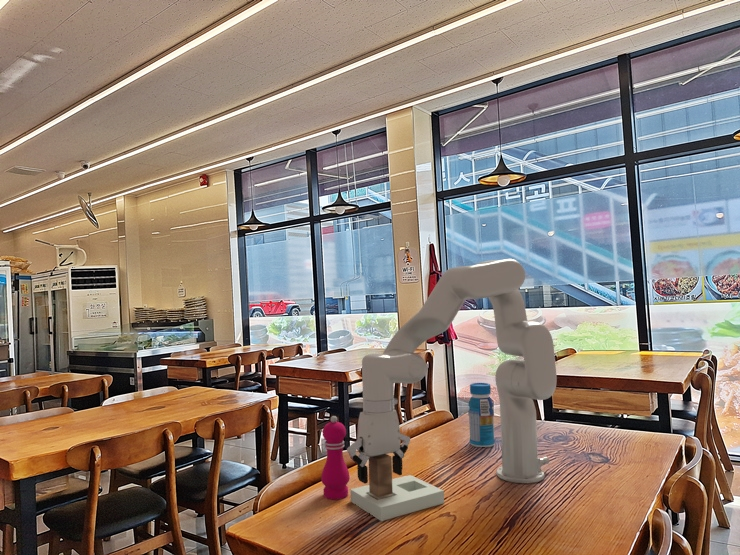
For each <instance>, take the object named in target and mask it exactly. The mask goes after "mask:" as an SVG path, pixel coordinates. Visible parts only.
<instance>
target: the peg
mask: <svg viewBox="0 0 740 555" xmlns="http://www.w3.org/2000/svg"><path fill="white" fill-rule="evenodd" d="M392 479H393V466H392V456H391V455H389V454H383V455H379V456H374V457H370V458H369V459H368V483H369V484H368V485H369V494H370V496H371V497H373V498H375V499H376V500H379V499H383V498H387V497H391V496H393V492H392Z"/></svg>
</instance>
